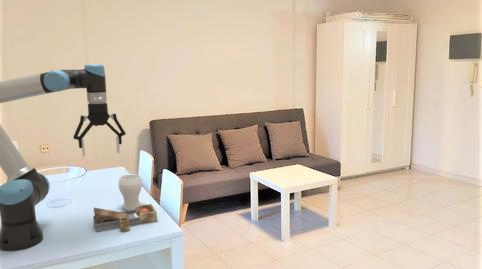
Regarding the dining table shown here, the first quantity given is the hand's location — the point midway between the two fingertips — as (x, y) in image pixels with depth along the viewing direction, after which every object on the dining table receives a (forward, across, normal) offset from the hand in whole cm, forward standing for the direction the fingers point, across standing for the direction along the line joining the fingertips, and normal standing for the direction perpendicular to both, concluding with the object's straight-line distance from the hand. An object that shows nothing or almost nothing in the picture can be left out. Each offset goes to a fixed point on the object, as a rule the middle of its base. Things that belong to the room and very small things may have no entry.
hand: (101, 154), depth 166 cm
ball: (+28, +16, -2) cm, 32 cm away
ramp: (+29, +2, -2) cm, 29 cm away
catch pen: (+31, +16, -2) cm, 35 cm away
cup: (+31, +13, +16) cm, 37 cm away
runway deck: (+31, +4, -2) cm, 31 cm away
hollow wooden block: (+31, +6, -10) cm, 33 cm away
